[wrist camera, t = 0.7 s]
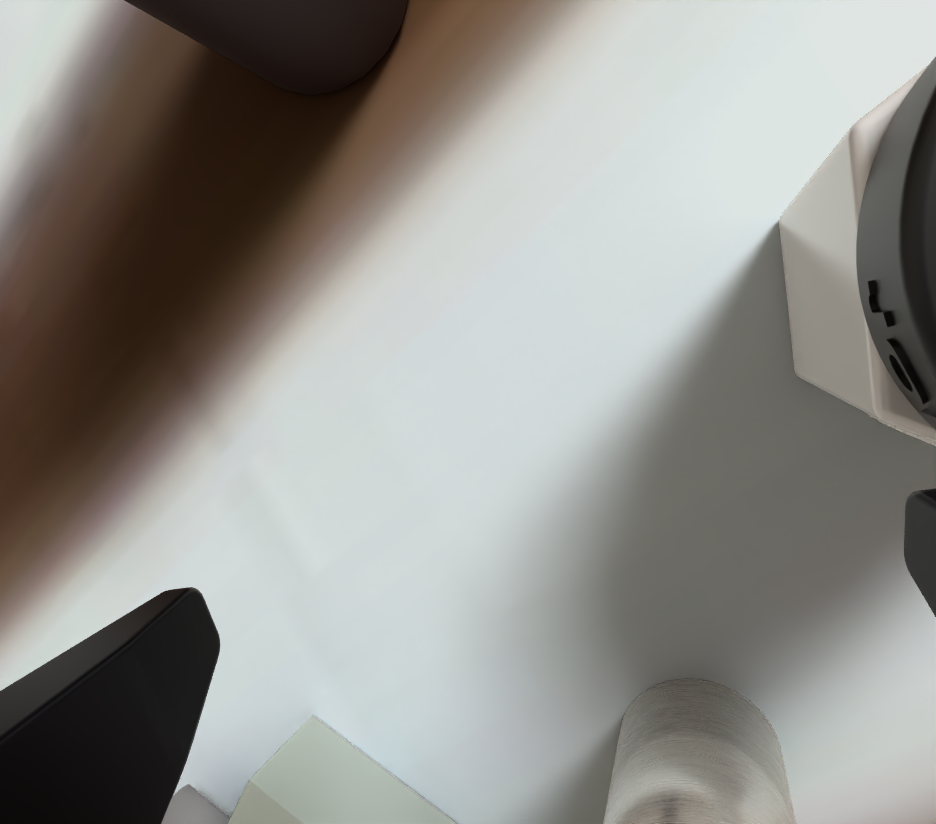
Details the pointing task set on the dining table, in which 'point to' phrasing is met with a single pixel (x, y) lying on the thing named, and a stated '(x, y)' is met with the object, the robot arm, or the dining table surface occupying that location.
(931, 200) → the jar
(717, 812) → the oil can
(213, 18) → the bottle
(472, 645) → the dining table surface
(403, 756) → the dining table surface
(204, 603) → the robot arm
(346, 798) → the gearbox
